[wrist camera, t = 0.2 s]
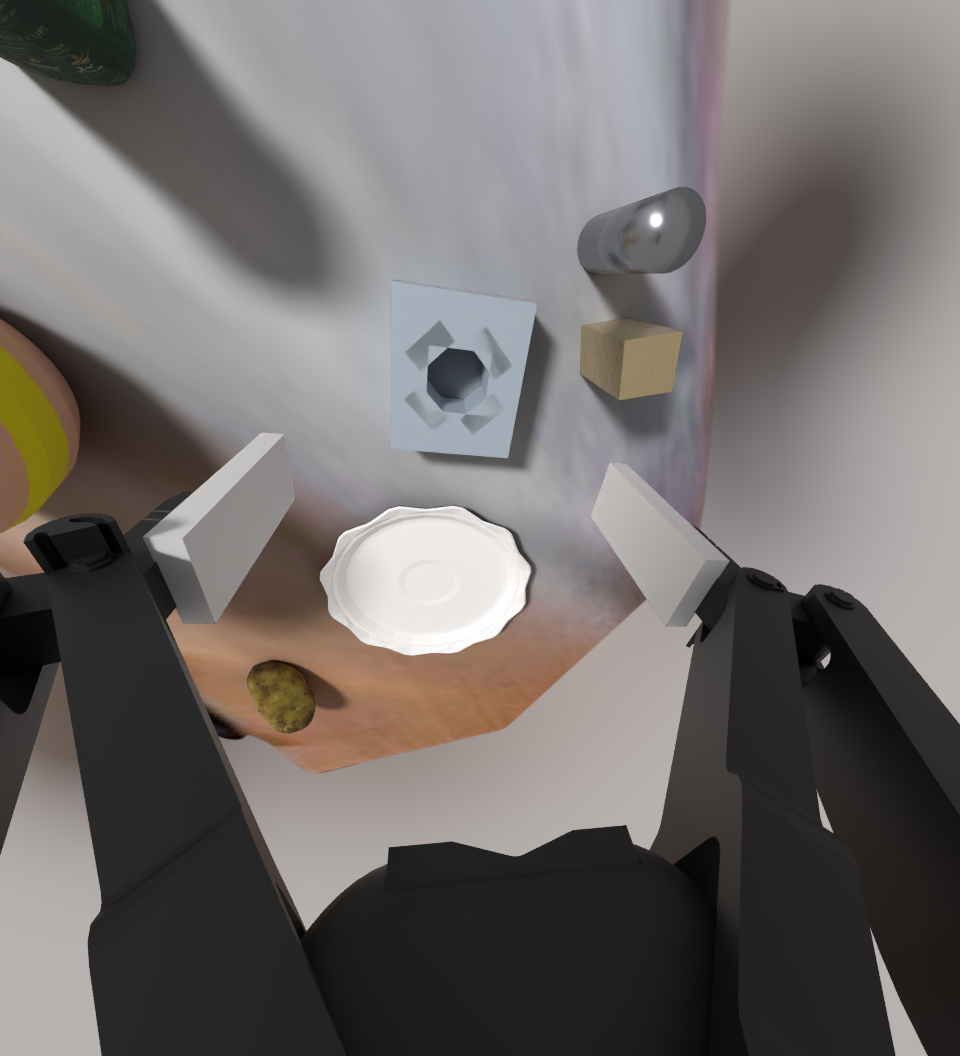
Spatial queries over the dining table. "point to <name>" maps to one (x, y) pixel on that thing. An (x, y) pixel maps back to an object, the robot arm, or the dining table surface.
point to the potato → (281, 696)
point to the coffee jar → (69, 39)
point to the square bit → (630, 357)
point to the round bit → (645, 234)
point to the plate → (425, 580)
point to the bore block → (469, 324)
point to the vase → (32, 428)
